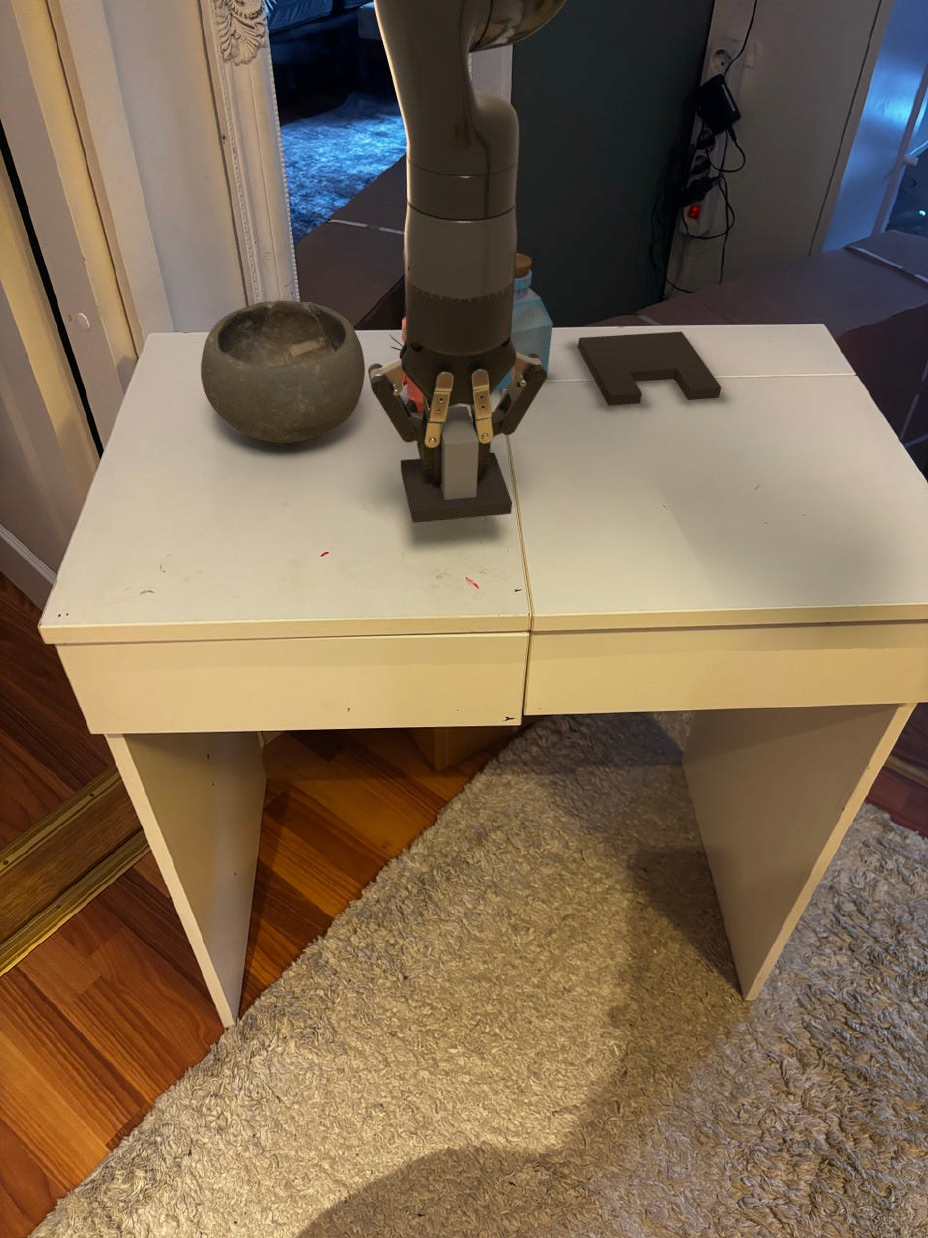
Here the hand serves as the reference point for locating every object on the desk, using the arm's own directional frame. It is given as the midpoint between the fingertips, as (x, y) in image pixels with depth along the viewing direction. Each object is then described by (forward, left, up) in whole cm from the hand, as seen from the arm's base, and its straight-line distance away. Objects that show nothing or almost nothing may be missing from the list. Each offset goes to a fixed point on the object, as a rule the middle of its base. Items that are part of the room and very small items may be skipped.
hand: (455, 475), depth 75 cm
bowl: (+22, -4, -6) cm, 23 cm away
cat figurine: (+13, -15, -6) cm, 21 cm away
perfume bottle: (+11, -26, -6) cm, 29 cm away
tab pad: (+1, -1, -2) cm, 2 cm away
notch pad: (-1, -35, -6) cm, 35 cm away
